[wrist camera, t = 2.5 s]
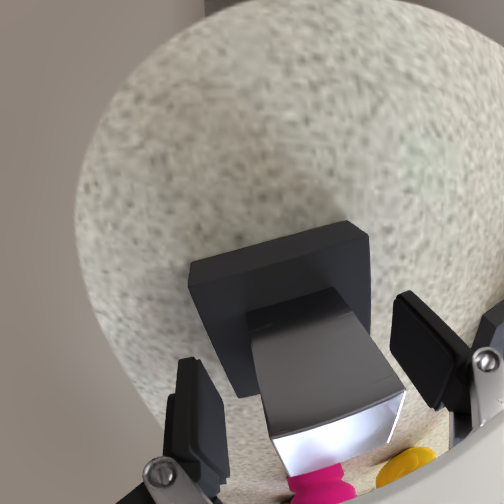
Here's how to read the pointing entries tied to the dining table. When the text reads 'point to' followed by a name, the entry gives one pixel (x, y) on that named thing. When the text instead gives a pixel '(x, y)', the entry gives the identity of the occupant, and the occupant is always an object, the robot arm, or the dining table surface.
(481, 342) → the base pad
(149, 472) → the robot arm
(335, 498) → the pepper mill
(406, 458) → the duckling
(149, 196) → the dining table surface
